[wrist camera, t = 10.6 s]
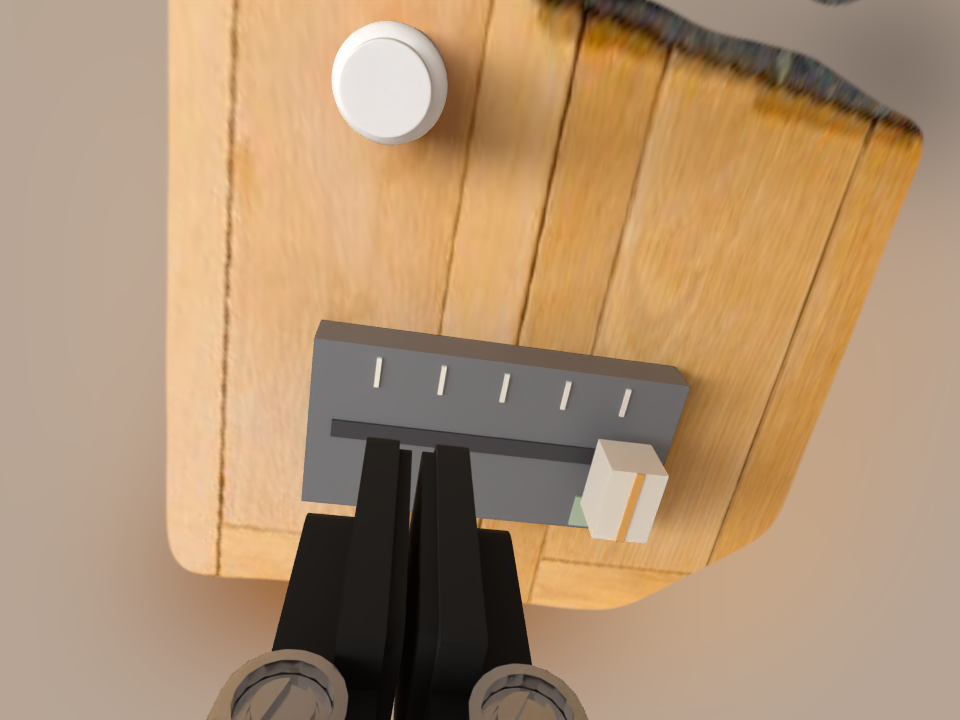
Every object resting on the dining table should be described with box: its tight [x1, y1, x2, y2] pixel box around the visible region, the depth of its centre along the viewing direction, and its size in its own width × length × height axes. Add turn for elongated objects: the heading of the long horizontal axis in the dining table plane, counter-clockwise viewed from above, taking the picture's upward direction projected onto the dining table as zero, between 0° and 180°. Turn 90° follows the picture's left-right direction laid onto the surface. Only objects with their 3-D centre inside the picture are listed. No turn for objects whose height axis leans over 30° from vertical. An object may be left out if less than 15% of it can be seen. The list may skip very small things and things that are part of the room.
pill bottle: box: [332, 21, 448, 145], centre depth 33 cm, size 6×5×10 cm
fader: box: [580, 439, 669, 543], centre depth 43 cm, size 5×4×5 cm
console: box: [301, 320, 690, 528], centre depth 46 cm, size 12×24×3 cm, turn 80°
